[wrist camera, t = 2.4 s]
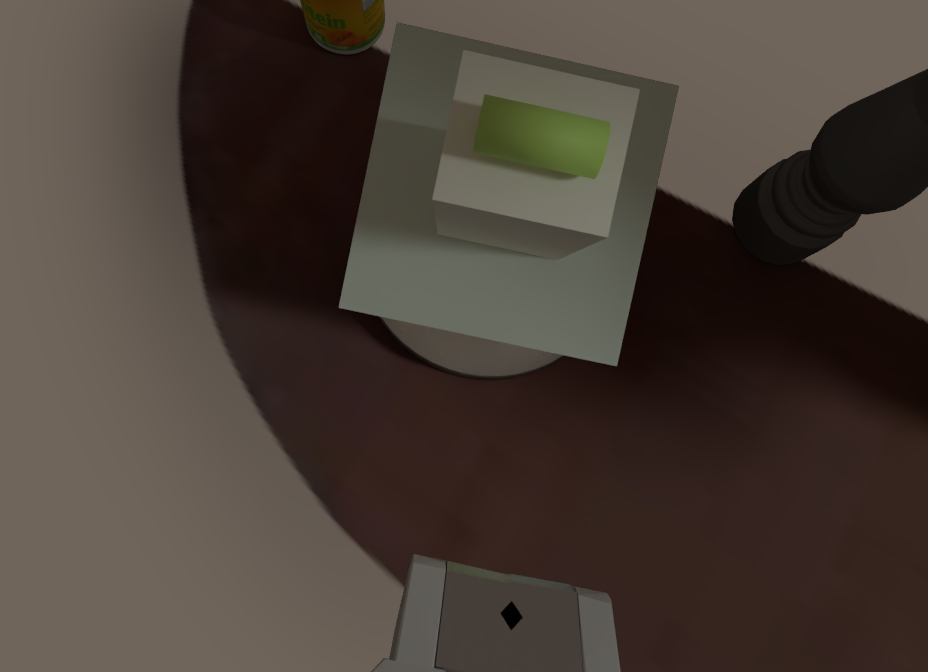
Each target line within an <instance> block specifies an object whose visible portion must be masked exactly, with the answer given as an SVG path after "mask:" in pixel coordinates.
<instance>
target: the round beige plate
mask: <svg viewBox="0 0 928 672" xmlns="http://www.w3.org/2000/svg"><path fill="white" fill-rule="evenodd" d="M378 317H379V319H380V320H381V322H382V324H383V325H384V326H385V328H386V329H387V330H388V332H389V333H390V334H391V336H392V337H393V338H394V339H395V340H396V341H397V342H398V343H399V344H400V345H401V346H402V347H403V348H404V349H406V350H407V351H408V352H410V353H411V354H412V355H413V356H415V357H416V358H417V359H419V360H421V361H423V362H424V363H426V364H428V365H429V366H431V367H433V368H436V369H438V370H441V371H443V372H445V373H448V374H452V375H455V376H459V377H463V378H469V379H476V380H501V379H509V378H515V377H519V376H523V375H526V374H530V373H532V372H535V371H537V370H539V369H542V368H544V367H546V366H548V365H549V364H551V363H553V362H555V361H556V360H558V359H559V358H561V357H562V356H563V355H560V354H556V353H551V352H546V351H541V350H537V349H532V348H527V347H522V346H518V345H513V344H508V343H503V342H499V341H494V340H489V339H484V338H480V337H475V336H470V335H465V334H461V333H456V332H451V331H446V330H442V329H437V328H432V327H427V326H423V325H418V324H413V323H409V322H404V321H399V320H394V319H390V318H385V317H380V316H378Z"/></svg>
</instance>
